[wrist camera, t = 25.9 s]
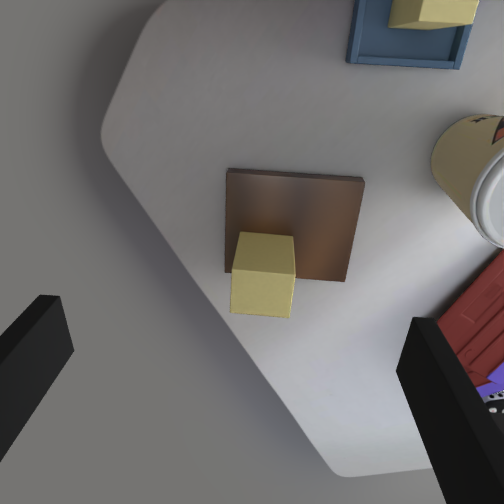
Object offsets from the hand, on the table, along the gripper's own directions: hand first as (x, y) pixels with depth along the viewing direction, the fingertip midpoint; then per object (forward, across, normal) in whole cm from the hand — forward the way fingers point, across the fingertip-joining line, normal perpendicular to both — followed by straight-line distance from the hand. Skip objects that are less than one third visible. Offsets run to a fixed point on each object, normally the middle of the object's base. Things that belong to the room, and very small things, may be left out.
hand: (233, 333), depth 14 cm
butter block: (+26, +1, -10) cm, 28 cm away
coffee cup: (+27, +21, +1) cm, 34 cm away
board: (+27, +4, -8) cm, 28 cm away
